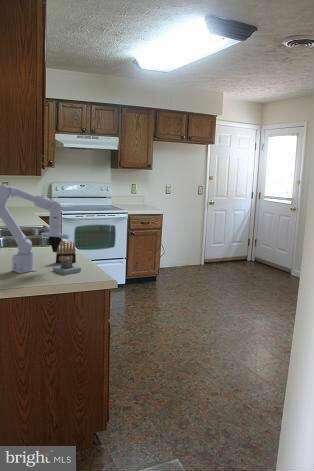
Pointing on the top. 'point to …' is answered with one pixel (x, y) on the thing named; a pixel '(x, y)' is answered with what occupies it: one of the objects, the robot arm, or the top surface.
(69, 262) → the plug
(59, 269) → the socket plate
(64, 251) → the ammunition clip
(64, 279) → the top surface
